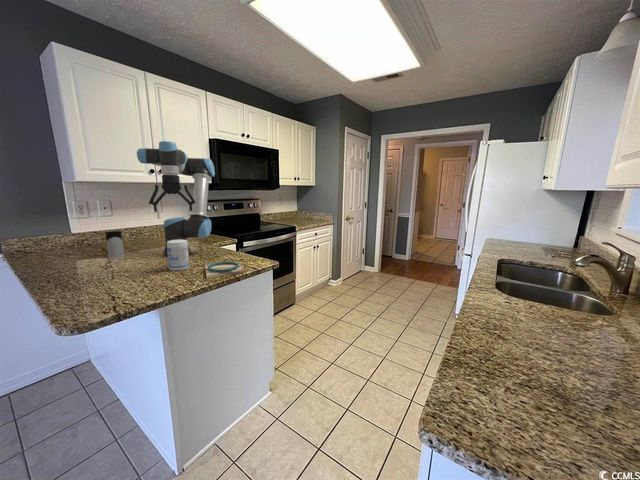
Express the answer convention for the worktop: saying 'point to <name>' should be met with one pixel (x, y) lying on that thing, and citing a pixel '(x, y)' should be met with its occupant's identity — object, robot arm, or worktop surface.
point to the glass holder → (114, 244)
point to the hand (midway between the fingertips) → (174, 218)
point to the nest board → (223, 269)
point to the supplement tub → (177, 254)
